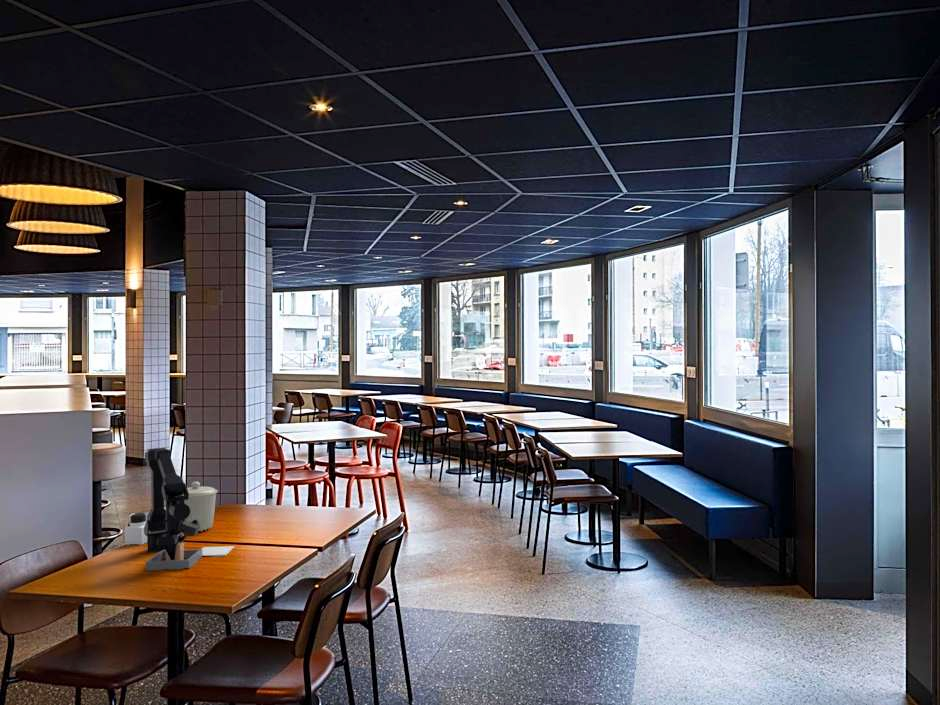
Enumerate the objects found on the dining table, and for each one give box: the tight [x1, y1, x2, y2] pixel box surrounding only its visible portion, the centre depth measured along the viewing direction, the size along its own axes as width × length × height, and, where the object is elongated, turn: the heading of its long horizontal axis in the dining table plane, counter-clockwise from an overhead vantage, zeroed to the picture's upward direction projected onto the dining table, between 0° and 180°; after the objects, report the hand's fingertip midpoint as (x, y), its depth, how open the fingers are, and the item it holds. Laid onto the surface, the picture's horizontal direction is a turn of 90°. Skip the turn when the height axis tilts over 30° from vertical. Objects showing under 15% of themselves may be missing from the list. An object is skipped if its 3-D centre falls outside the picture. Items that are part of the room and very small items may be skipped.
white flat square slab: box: [201, 545, 235, 557], centre depth 278 cm, size 12×12×1 cm
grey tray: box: [145, 548, 203, 571], centre depth 263 cm, size 15×15×3 cm
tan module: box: [165, 542, 185, 560], centre depth 264 cm, size 5×4×7 cm
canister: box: [182, 481, 218, 532], centre depth 316 cm, size 18×18×21 cm
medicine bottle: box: [124, 512, 150, 546], centre depth 295 cm, size 7×7×12 cm
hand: (174, 558), depth 263 cm, fingers closed on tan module, 4 cm apart
